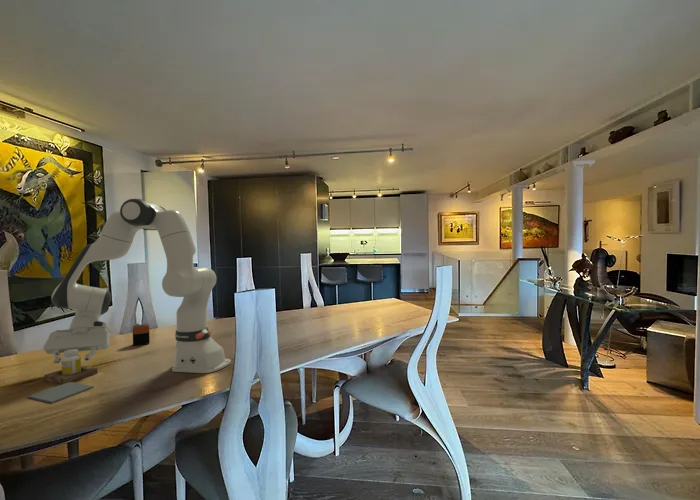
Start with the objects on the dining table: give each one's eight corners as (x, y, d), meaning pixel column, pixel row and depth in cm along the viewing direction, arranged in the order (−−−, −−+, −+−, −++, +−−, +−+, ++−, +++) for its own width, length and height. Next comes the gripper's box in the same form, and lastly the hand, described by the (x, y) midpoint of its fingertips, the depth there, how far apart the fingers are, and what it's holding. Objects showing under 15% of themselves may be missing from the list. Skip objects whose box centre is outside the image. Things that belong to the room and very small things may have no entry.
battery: (133, 344, 166) (133, 323, 166) (149, 342, 169) (149, 322, 169) (132, 346, 162) (132, 325, 162) (149, 344, 166) (148, 323, 165)
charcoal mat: (93, 387, 114) (93, 386, 114) (52, 403, 103) (52, 401, 103) (70, 383, 119) (70, 381, 119) (27, 397, 107) (27, 396, 107)
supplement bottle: (78, 373, 128) (78, 347, 128) (82, 376, 125) (82, 349, 125) (60, 377, 124) (59, 350, 124) (63, 381, 121) (63, 353, 120)
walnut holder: (97, 373, 128) (97, 367, 128) (64, 384, 117) (64, 378, 117) (78, 369, 131) (78, 364, 131) (44, 380, 121) (44, 375, 121)
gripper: (48, 326, 129) (33, 360, 120) (110, 322, 135) (101, 354, 126) (54, 335, 133) (41, 368, 124) (115, 330, 140) (106, 362, 130)
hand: (72, 361), depth 125 cm, fingers open, 8 cm apart
